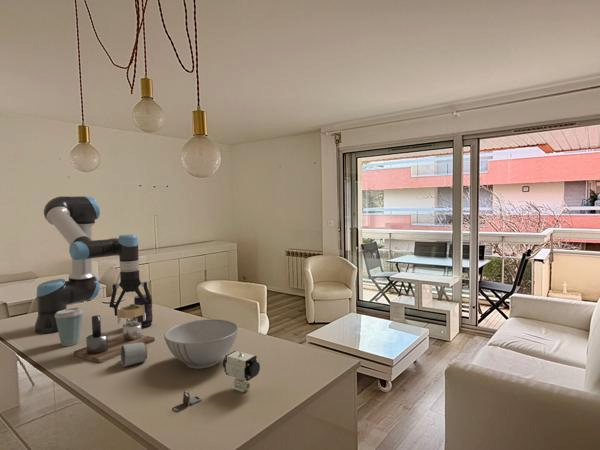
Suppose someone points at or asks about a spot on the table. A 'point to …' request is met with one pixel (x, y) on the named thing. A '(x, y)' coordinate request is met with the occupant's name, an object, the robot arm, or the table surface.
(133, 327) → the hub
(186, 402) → the strap clip
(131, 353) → the ceramic mug
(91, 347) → the nail polish bottle
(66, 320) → the disposable coffee cup
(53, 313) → the robot arm
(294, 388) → the table surface
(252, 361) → the pneumatic valve
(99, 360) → the board
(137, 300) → the camera lens
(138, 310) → the ring
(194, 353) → the decorative bowl
